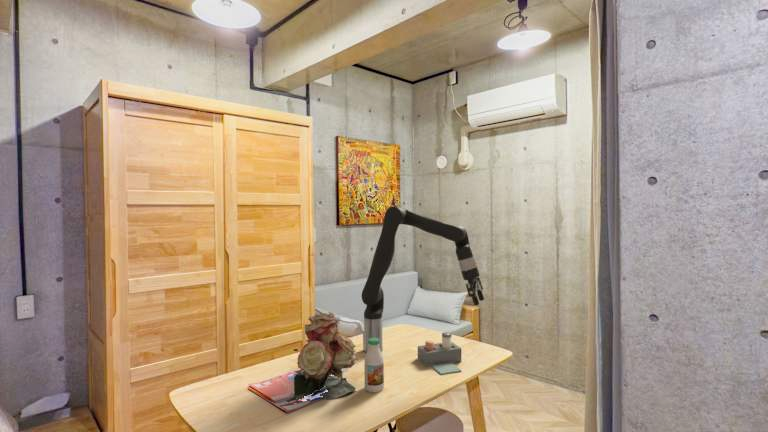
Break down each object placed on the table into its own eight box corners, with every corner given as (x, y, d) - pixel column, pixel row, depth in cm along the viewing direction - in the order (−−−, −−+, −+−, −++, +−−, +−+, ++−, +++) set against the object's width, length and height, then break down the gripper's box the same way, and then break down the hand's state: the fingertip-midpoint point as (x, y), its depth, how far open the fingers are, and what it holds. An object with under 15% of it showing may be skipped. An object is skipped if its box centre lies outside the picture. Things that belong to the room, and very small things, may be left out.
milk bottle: (361, 390, 159) (360, 340, 159) (370, 382, 166) (370, 335, 165) (378, 394, 155) (377, 343, 155) (387, 386, 162) (386, 337, 162)
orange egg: (427, 356, 186) (427, 344, 186) (424, 353, 189) (424, 341, 189) (435, 355, 187) (435, 343, 187) (431, 352, 191) (431, 340, 191)
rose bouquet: (295, 409, 145) (294, 327, 144) (292, 376, 173) (291, 307, 172) (364, 399, 152) (363, 321, 151) (350, 369, 180) (349, 303, 179)
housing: (426, 366, 182) (426, 353, 182) (417, 358, 192) (417, 346, 192) (461, 361, 188) (461, 348, 188) (451, 353, 197) (451, 341, 197)
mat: (440, 374, 173) (440, 373, 173) (431, 366, 181) (431, 365, 181) (461, 371, 176) (461, 370, 176) (451, 363, 185) (451, 362, 185)
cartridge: (444, 361, 188) (444, 335, 188) (440, 357, 193) (440, 332, 192) (453, 359, 190) (453, 334, 189) (448, 356, 194) (448, 331, 194)
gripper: (465, 267, 191) (476, 300, 190) (456, 272, 179) (467, 308, 177) (480, 263, 187) (491, 297, 186) (471, 269, 175) (483, 305, 174)
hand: (479, 302), depth 182 cm, fingers open, 8 cm apart
